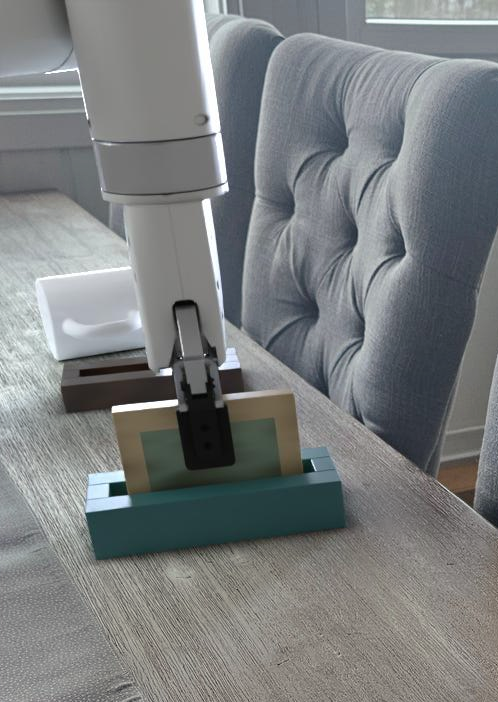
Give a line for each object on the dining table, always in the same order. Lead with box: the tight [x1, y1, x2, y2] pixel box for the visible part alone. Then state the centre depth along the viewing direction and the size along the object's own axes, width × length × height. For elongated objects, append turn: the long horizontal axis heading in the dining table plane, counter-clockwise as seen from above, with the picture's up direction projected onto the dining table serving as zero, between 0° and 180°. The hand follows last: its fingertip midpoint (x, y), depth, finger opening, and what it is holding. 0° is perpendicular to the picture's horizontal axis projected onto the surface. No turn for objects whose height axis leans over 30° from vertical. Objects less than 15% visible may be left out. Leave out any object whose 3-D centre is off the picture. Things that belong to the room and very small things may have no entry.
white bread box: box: [34, 266, 146, 361], centre depth 114 cm, size 12×10×8 cm
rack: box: [59, 346, 246, 414], centre depth 105 cm, size 16×7×2 cm, turn 105°
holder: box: [84, 445, 347, 561], centre depth 79 cm, size 17×7×4 cm, turn 105°
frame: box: [111, 387, 303, 495], centre depth 78 cm, size 12×1×9 cm, turn 105°
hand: (207, 441), depth 77 cm, fingers open, 9 cm apart
